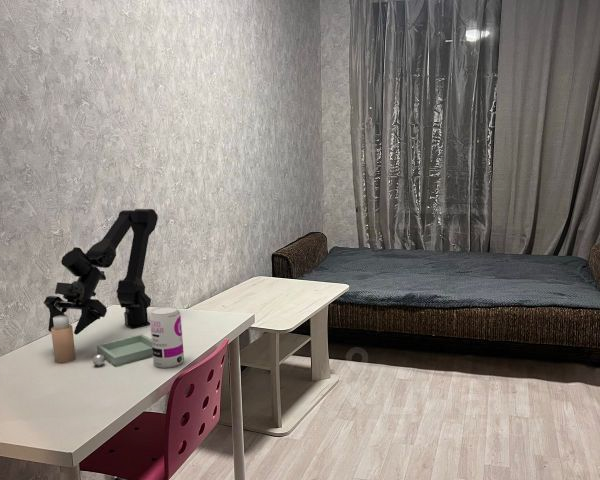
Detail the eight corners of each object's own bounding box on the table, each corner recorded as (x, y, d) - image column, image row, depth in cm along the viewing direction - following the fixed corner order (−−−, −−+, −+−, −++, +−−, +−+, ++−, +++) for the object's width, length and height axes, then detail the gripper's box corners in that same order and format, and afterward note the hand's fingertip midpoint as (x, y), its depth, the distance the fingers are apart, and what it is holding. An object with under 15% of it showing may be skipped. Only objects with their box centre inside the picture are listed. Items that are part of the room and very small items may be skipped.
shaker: (72, 354, 176) (67, 313, 174) (78, 359, 172) (73, 317, 170) (52, 359, 173) (47, 317, 171) (58, 364, 169) (53, 321, 167)
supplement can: (187, 357, 170) (183, 305, 168) (179, 368, 162) (174, 314, 159) (159, 357, 171) (155, 306, 168) (149, 369, 163) (144, 314, 160)
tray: (142, 342, 185) (142, 334, 184) (163, 353, 174) (162, 345, 174) (97, 353, 176) (96, 345, 176) (115, 366, 166) (114, 357, 165)
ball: (102, 362, 169) (101, 351, 169) (107, 365, 167) (106, 354, 166) (91, 365, 167) (90, 354, 167) (95, 368, 165) (94, 357, 164)
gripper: (44, 268, 177) (18, 316, 169) (96, 271, 170) (71, 321, 162) (67, 288, 185) (43, 334, 177) (117, 292, 178) (94, 340, 170)
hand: (62, 332), depth 171 cm, fingers open, 9 cm apart
